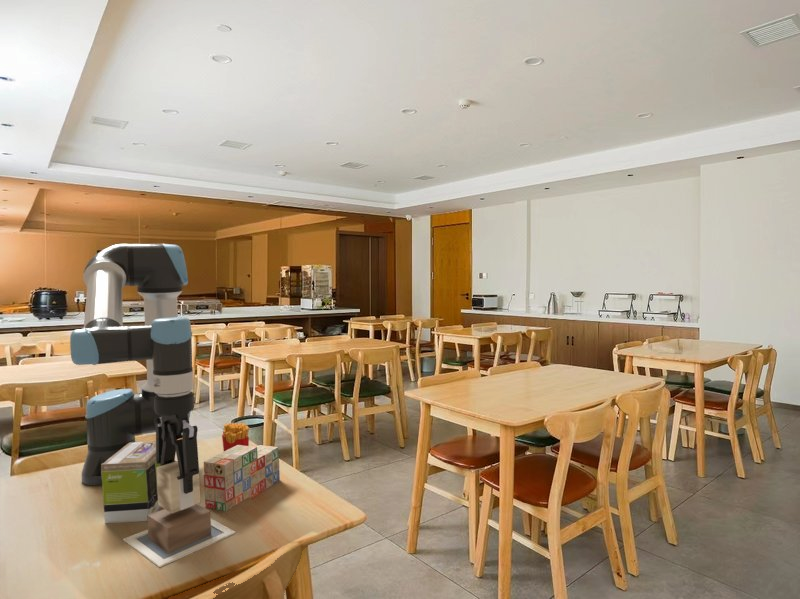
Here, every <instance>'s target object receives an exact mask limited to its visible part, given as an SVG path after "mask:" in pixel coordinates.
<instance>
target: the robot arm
mask: <svg viewBox="0 0 800 599" xmlns="http://www.w3.org/2000/svg"><path fill="white" fill-rule="evenodd" d="M82 277H83V283H84V285H85V286H86V298H85V299H86V300H85V309H84V310H85V311H84V322H83V327H82V328H81V329H78V328H77V329H74V330H73V331H71V333H70V338H69V339H70V340H69V344H70V345H69V346H70V347H69V348H70V349H69V350H70V358H71V362H72V363H73V364H74V365H76V366H77V365H78V366H82V365H83V366H84V365H85V366H86V365H87V366H88V365H93V366H98V365H103V364H113V363H123V362H138V361H146V382H144V384H143V385H141V392H140V393H135V392H134V390H133V389H132V388H120V389H114V390H110V391H106V392H102V393H99V394H97V395H95V396H92V397H91V398H90V399H88V400H87V402H86V405H85V416H84V417H85V419H86V435H87V436H86V438H87V454H86V457H85V460H84V464H83V467H82V470H81V482H82V484H84V485H87V486H95V487H96V486H97V487H98V486H102V475H101V464H103V463H104V462H105V461H107V460H108V459H109V458H110V457H112V456H113V455H114V454H116V453H117V452H118V451H119V450H121V449H122V448H123V447H124V446H126V445H127V444H128V443H130V442H136V436H140V435H147V434H153V433H154V434H155V441H156V462H157V464H160V466H163V465H166V464H169V463H172V462H176V461H178V465H179V471H180V476H178V477H177V479H178V488H179V509H180V510H183V509H186V508H188V507H191V506H193V505H194V496H193V475H196V474H199V475H200V466H199V453H198V452H199V451H198V450H199V449H198V426H197V425H193V426H192V425H191V424H190V417H191V412H192V411H193V410H194V409H195V394H194V391H193V390H194V388H195V387H194V370H193V369H194V368H193V347H192V346H193V345H192V344H193V342H192V341H193V340H192V337H193V331H192V325H191V320H190V319H189V318H188V317H180V316H179V315H178V297H179V296H180V294H182V292H183V291H184V290H183V286H187V285H188V283H189V278H188V269H187V264H186V259H185V255H184V252H183V249H182V248H181V246H180V245H178V244H169V243H164V242H163V243H117V244H113V245H110V246H108V247H105V248H103V249H102V250H100V251H99V252H97V253H96V254H95V255H93V256H92V257H91V258H90V259H89V260H88V261H87V264H86V265H85V268H84V271H83V276H82ZM124 287H136V290H137V294H138V295H140V296H141V297H142V298H143V306H144V307H143V309H144V310H143V311H144V313H143V314H144V325H133V326H131V325H129V326H124V322H123V321H124V320H123V319H124V318H123V317H124V315H123V314H124V313H123V308H124V307H123V288H124ZM176 459H177V460H176Z"/></svg>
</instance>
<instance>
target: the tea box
mask: <svg viewBox="0 0 800 599" xmlns="http://www.w3.org/2000/svg"><path fill="white" fill-rule="evenodd" d="M159 466H160V464H157V462H156V440H152V441H151V440H150V441H135V442H130V443H128V444H127V445H126V446H124V447H123V448H122V449H121V450H119V451H118V452H117V453H116V454H114V455H113V456H112V457H110V458H109V459H108V460H107V461H105V462H104V463H103V464H101V475H102V485H101V486H102V488H101V489H102V500H103V501H102V502H103V513H104V514H103V515H104V516H103V517H104V523H105V524H113V523H114V524H115V523H128V522H129V523H131V522H146V521H147V522H148V520H147V515H149V514H152V513H154V512H157V511H160V510H161V508H162V507H160V506H159V505H158V491H157V471H156V467H159Z"/></svg>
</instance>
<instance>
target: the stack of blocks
mask: <svg viewBox="0 0 800 599" xmlns="http://www.w3.org/2000/svg"><path fill="white" fill-rule="evenodd" d="M279 454H280V453H279V447H278V446H270V445H263V444H262V445H261V444H258V445H257V446H250V445H249V446H243V445H236V446H234V447H232V448H230V449H228V450H226V451H224V450H223V452H221V453H219V454H217V455H215V456H213V457H210V458H207V459H206V460H204V461H203V473H204V474H203V486H204V505H205V506H204V508H208V509H212V510H213V509H214V510H219V511H224V512H227V511H229V510H230V509H232V508H234V507H236V506H237V505H238V504H240V503H241V502H243V501H245V500H246V499H248V498H250V499H254V498H256V496H258V495H259V494H261V493H263V492H264V491H265V490H267V489H269V488H270V487H272V486H273V485H275V484H276V483H278V482H279V481H281V480H280V478H281V477H280V458H279V457H280V456H279Z"/></svg>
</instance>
